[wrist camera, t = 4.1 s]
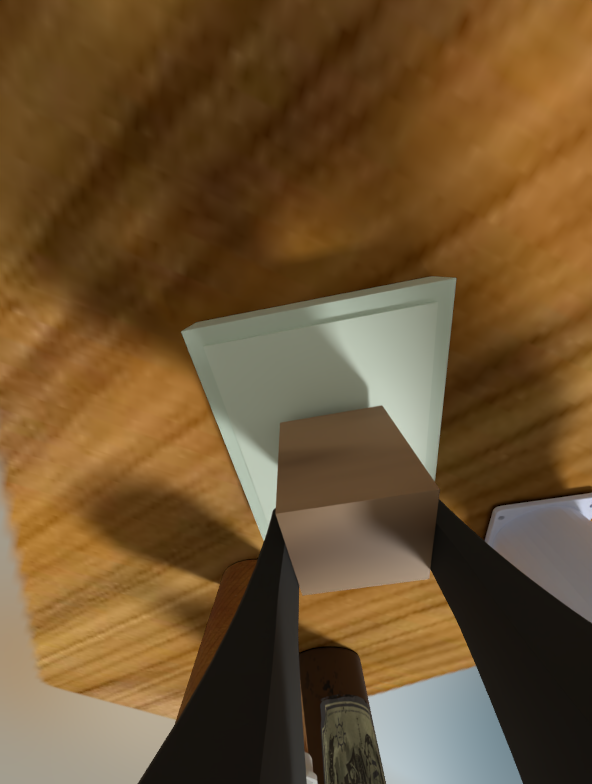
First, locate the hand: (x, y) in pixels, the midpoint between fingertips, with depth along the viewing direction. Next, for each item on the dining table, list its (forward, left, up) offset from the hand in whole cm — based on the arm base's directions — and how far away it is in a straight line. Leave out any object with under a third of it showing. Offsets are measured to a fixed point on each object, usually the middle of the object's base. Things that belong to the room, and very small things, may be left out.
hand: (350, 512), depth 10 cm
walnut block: (0, 0, -3) cm, 3 cm away
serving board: (0, 0, -6) cm, 6 cm away
